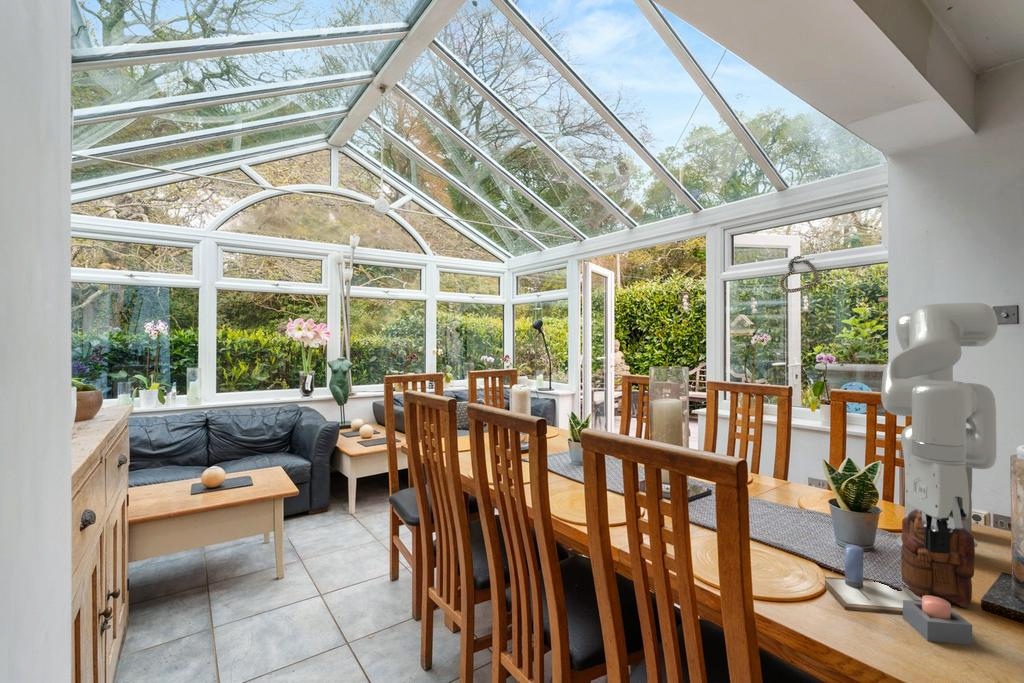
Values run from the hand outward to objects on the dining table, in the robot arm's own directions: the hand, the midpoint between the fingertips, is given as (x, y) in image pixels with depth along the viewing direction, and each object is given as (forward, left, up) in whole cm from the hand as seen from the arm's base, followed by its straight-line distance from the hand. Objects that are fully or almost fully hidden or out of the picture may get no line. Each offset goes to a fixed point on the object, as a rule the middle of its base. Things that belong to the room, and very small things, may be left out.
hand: (936, 550), depth 89 cm
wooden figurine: (-8, -14, -15) cm, 22 cm away
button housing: (0, 0, -15) cm, 15 cm away
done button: (0, 0, -13) cm, 13 cm away
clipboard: (+5, -11, -15) cm, 19 cm away
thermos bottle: (-35, -51, -15) cm, 64 cm away
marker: (+7, -14, -14) cm, 21 cm away
